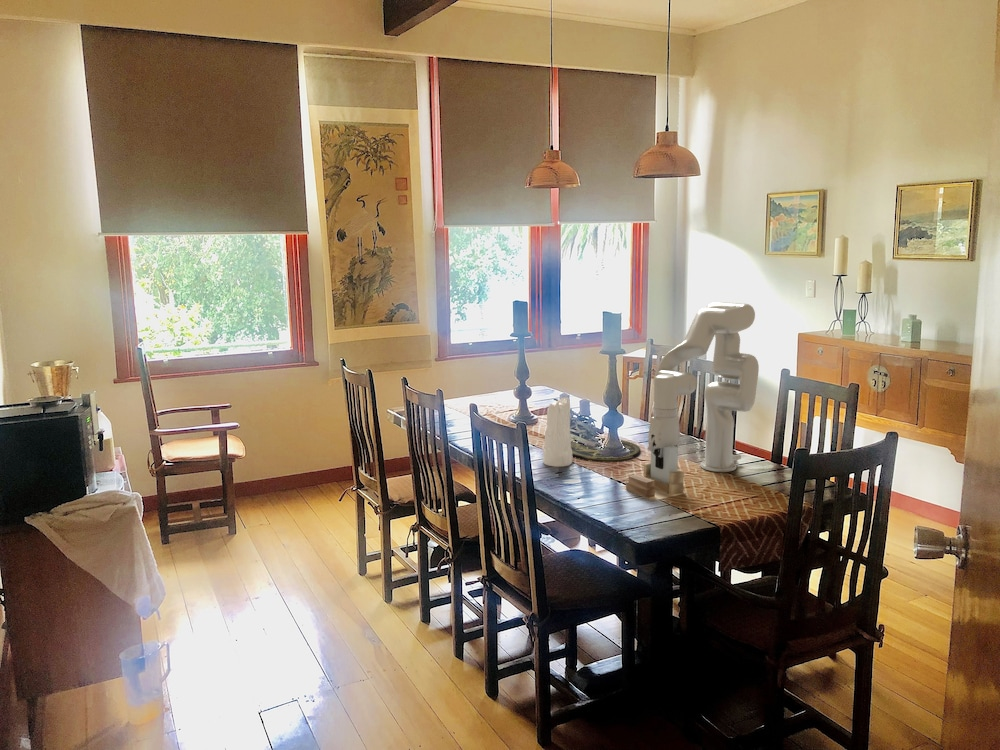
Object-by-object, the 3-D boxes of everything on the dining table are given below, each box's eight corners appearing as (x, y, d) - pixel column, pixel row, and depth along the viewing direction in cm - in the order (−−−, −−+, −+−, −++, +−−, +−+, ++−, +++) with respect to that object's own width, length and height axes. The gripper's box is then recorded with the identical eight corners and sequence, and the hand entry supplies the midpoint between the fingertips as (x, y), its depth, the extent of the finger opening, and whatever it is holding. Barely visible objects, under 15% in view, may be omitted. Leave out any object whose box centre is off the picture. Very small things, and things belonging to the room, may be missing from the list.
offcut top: (636, 481, 256) (636, 474, 256) (654, 488, 250) (654, 480, 249) (628, 483, 254) (628, 476, 254) (646, 490, 248) (646, 482, 247)
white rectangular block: (658, 475, 262) (659, 441, 260) (677, 482, 254) (678, 447, 252) (650, 477, 260) (651, 442, 258) (669, 484, 253) (669, 448, 251)
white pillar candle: (541, 466, 287) (541, 399, 283) (544, 457, 298) (544, 393, 293) (571, 467, 286) (571, 400, 281) (573, 459, 296) (573, 394, 292)
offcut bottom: (634, 487, 258) (634, 480, 257) (654, 496, 249) (654, 488, 249) (625, 489, 256) (626, 482, 256) (646, 498, 248) (646, 490, 247)
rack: (654, 483, 266) (655, 460, 265) (687, 496, 253) (688, 472, 251) (620, 490, 259) (620, 466, 257) (652, 504, 245) (653, 479, 244)
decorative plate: (553, 440, 317) (621, 435, 325) (553, 445, 317) (621, 439, 325) (580, 461, 289) (654, 454, 297) (580, 466, 289) (654, 459, 297)
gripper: (676, 407, 260) (675, 460, 264) (638, 413, 252) (637, 468, 256) (692, 411, 254) (690, 465, 257) (653, 418, 246) (652, 474, 249)
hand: (664, 466), depth 257 cm, fingers closed on white rectangular block, 3 cm apart
